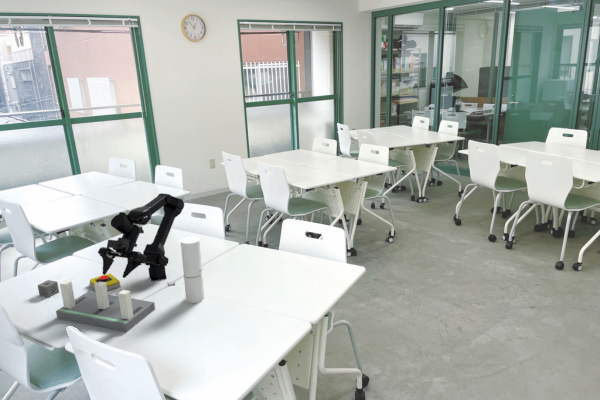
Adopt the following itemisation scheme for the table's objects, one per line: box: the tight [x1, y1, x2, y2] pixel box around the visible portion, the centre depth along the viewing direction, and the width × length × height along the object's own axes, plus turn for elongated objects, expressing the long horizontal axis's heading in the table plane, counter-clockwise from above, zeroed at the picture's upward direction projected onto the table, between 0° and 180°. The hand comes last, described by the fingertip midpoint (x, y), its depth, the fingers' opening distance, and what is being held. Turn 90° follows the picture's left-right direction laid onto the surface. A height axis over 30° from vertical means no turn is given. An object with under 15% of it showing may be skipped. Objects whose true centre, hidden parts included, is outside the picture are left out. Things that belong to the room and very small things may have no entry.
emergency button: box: [89, 273, 124, 295], centre depth 185 cm, size 9×4×15 cm
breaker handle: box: [94, 282, 109, 309], centre depth 160 cm, size 2×3×10 cm
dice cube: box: [37, 279, 60, 299], centre depth 178 cm, size 5×5×5 cm
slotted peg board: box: [55, 280, 156, 333], centre depth 162 cm, size 16×31×13 cm, turn 72°
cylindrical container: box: [180, 236, 205, 304], centre depth 170 cm, size 7×7×25 cm
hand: (113, 276), depth 165 cm, fingers open, 9 cm apart
